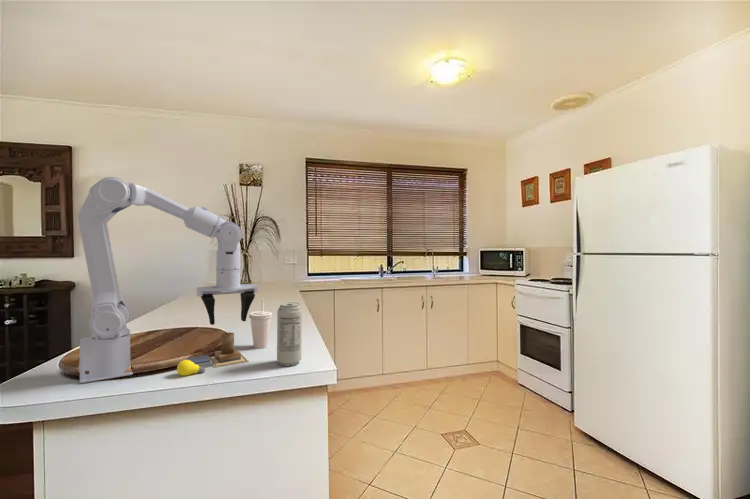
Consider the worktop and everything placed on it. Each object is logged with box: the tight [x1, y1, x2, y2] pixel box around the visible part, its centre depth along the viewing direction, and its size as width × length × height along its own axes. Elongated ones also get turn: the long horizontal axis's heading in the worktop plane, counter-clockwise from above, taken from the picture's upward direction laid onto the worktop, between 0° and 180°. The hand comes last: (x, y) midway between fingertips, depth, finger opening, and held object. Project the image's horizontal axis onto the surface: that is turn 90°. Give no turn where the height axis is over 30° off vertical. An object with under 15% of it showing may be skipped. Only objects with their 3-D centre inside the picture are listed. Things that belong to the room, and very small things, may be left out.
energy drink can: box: [276, 302, 303, 367], centre depth 94 cm, size 6×6×15 cm
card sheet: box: [209, 353, 249, 368], centre depth 96 cm, size 8×8×1 cm
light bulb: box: [176, 359, 206, 377], centre depth 86 cm, size 3×6×4 cm, turn 117°
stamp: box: [214, 332, 242, 363], centre depth 96 cm, size 5×5×6 cm
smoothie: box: [248, 297, 273, 349], centre depth 107 cm, size 6×6×14 cm
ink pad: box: [183, 354, 214, 369], centre depth 92 cm, size 6×6×1 cm
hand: (228, 322), depth 95 cm, fingers open, 7 cm apart
